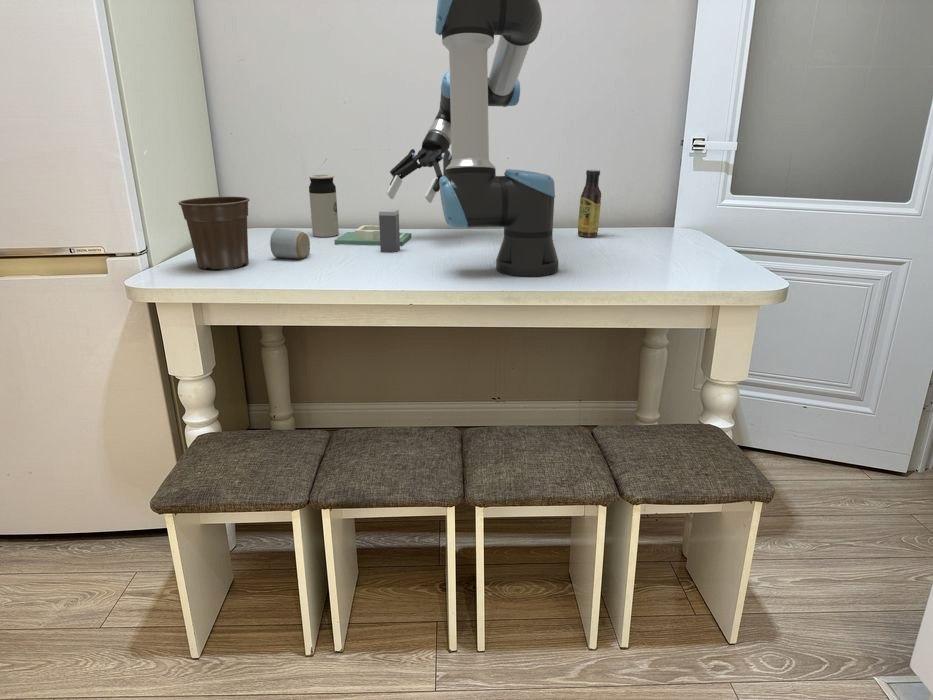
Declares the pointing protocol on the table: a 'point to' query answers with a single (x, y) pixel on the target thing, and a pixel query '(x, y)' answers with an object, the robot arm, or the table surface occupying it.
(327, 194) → the travel mug
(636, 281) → the table surface
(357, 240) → the board
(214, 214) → the plant pot
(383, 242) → the plug
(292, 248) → the ceramic mug
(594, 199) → the sauce bottle
